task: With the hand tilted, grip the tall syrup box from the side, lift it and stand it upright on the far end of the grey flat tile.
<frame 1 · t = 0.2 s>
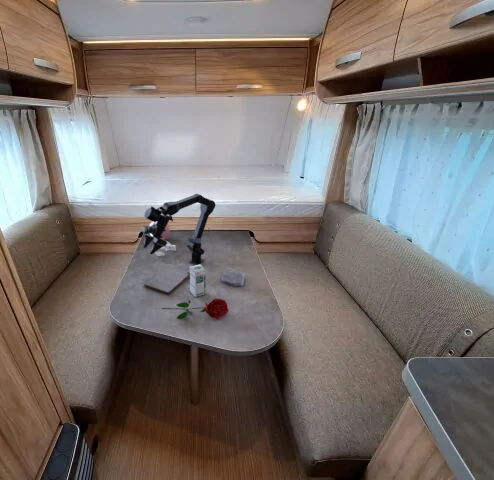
hand: (147, 250, 143), 15 cm above the table, tool tilted 35°, fingers open, 9 cm apart
flower: (195, 316, 116), on the table
stone block: (232, 281, 143), on the table
syrup box: (197, 293, 133), on the table
balloon: (159, 238, 197), on the table
grey flat tile: (168, 280, 143), on the table
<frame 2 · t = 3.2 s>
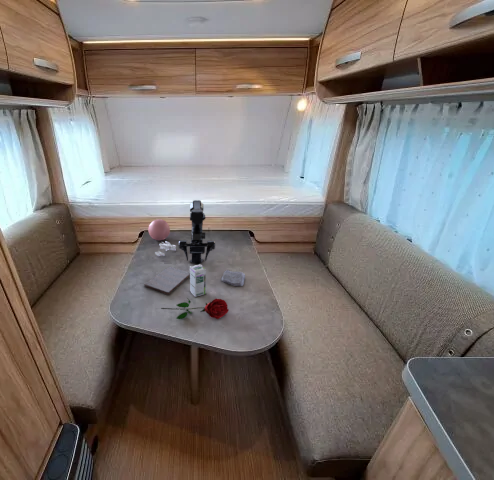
hand: (196, 260, 135), 14 cm above the table, tool tilted 45°, fingers open, 9 cm apart
nothing on the table moved.
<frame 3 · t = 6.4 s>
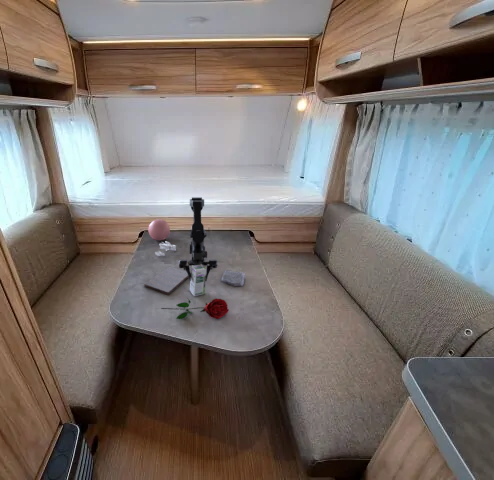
hand: (198, 281, 128), 8 cm above the table, tool tilted 45°, fingers closed on syrup box, 7 cm apart
syrup box: (196, 292, 133), on the table, touching gripper
everything else where it was.
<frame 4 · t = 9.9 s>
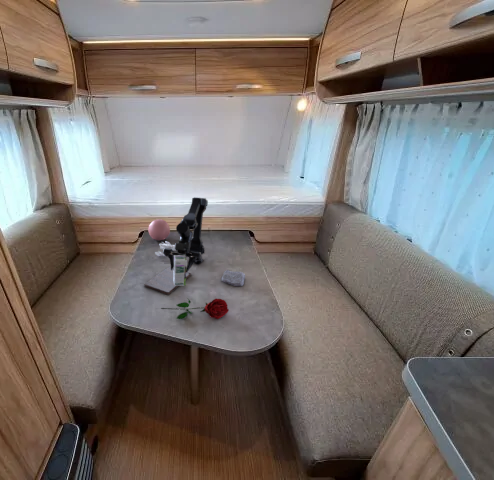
hand: (179, 271, 128), 12 cm above the table, tool tilted 45°, fingers closed on syrup box, 7 cm apart
syrup box: (179, 283, 133), point 5 cm above the table, touching gripper
everything else where it was.
when the fingers open (9 cm above the table, at t = 13.2 s): syrup box stays where it is, resting on grey flat tile.
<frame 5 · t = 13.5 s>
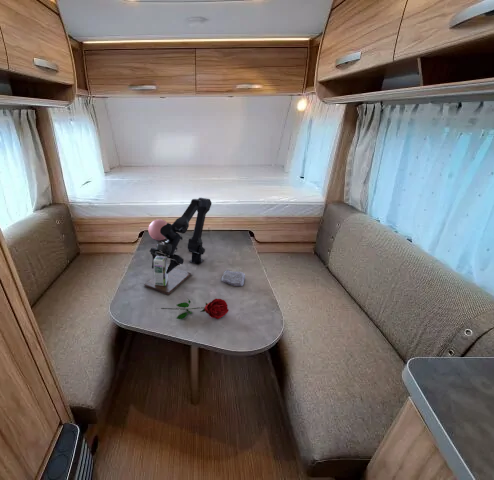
hand: (159, 270, 133), 10 cm above the table, tool tilted 45°, fingers open, 9 cm apart
syrup box: (161, 283, 138), point 1 cm above the table, touching grey flat tile
everything else where it was.
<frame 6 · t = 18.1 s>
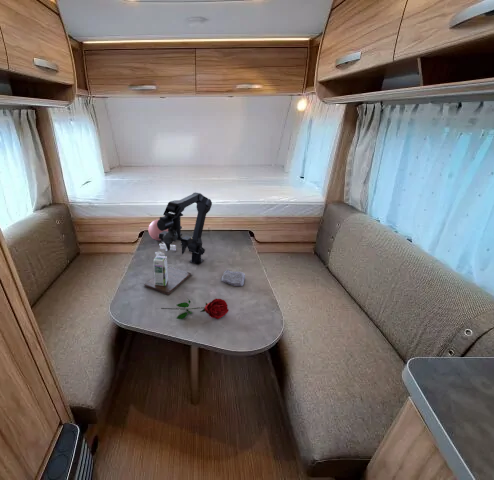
hand: (175, 252, 145), 13 cm above the table, tool pointing down, fingers open, 9 cm apart
nothing on the table moved.
at the end: syrup box inside the target area on the grey flat tile (0.6 cm from its centre), point 1.3 cm above the grey flat tile's base; syrup box tilted 0°; the gripper is holding nothing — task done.
